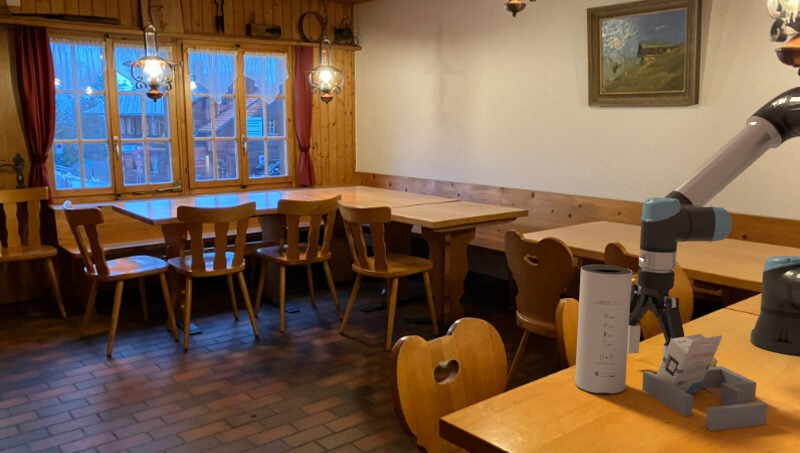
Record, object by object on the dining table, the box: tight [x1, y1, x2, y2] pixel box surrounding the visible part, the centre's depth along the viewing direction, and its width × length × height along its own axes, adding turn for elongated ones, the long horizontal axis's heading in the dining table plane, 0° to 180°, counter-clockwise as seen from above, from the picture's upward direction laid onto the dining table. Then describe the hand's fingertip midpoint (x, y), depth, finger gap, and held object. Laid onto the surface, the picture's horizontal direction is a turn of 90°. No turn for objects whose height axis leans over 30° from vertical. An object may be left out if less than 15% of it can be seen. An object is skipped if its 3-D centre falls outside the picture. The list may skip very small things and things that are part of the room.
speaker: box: [574, 264, 633, 396], centre depth 145 cm, size 11×10×26 cm
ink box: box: [656, 333, 723, 394], centre depth 140 cm, size 9×5×15 cm, turn 114°
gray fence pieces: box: [641, 365, 768, 432], centre depth 137 cm, size 18×21×4 cm
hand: (649, 362), depth 152 cm, fingers open, 13 cm apart
